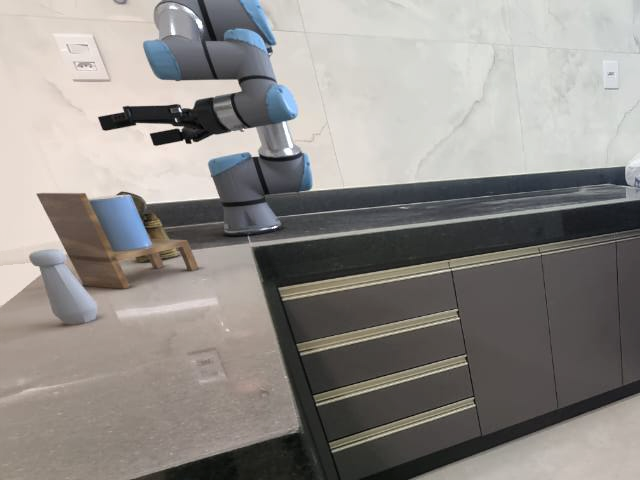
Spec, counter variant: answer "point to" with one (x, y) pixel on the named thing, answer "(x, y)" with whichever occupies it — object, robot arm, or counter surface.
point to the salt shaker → (64, 288)
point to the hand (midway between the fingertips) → (128, 132)
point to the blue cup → (120, 222)
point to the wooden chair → (99, 242)
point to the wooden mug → (151, 227)
